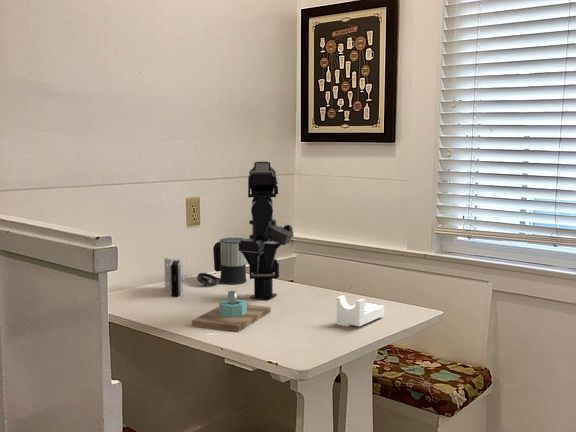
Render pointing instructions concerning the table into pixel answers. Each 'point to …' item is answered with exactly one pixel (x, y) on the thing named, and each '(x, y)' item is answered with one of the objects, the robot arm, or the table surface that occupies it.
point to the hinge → (174, 276)
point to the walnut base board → (231, 318)
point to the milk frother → (227, 263)
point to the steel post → (232, 297)
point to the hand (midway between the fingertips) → (262, 271)
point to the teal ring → (232, 308)
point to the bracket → (357, 312)
